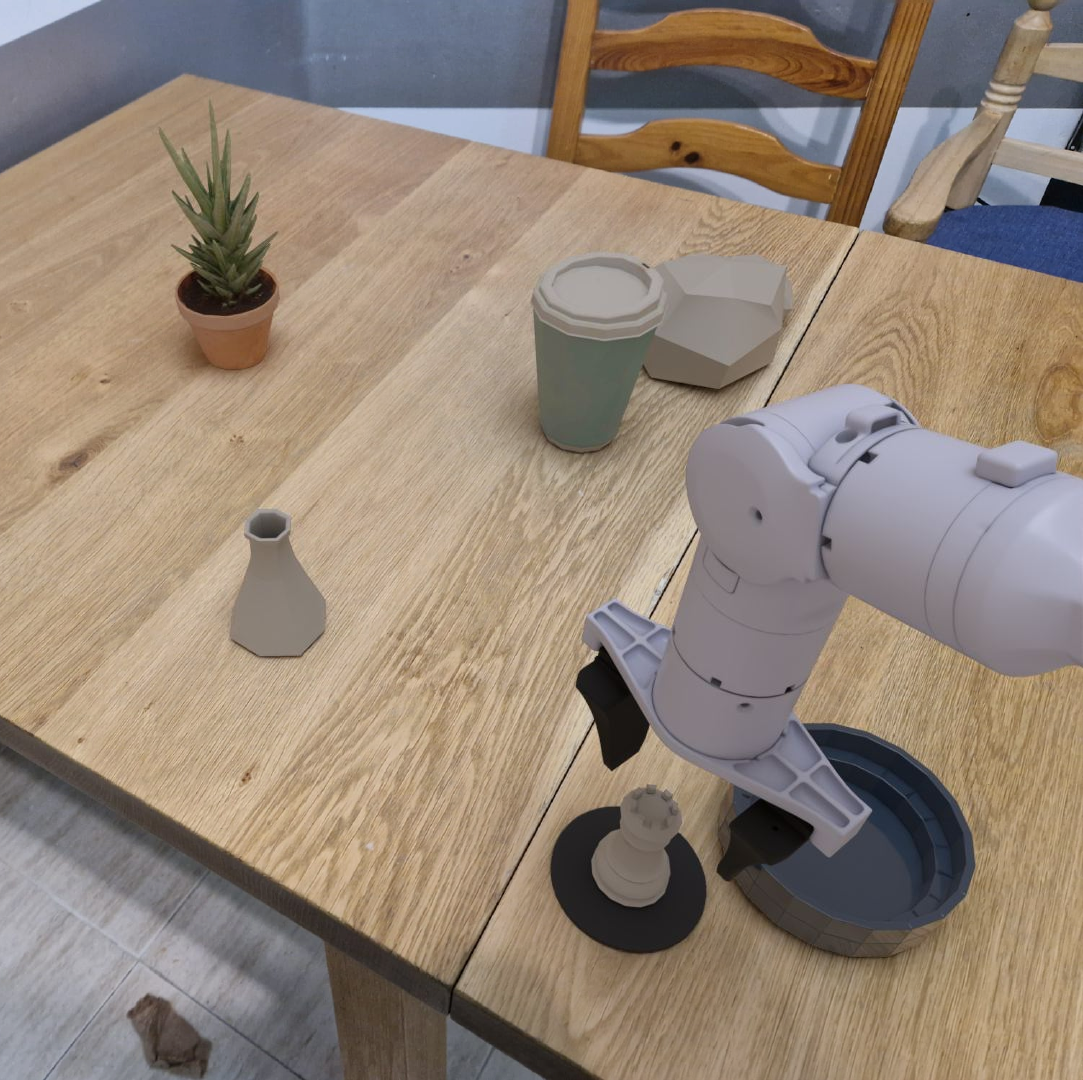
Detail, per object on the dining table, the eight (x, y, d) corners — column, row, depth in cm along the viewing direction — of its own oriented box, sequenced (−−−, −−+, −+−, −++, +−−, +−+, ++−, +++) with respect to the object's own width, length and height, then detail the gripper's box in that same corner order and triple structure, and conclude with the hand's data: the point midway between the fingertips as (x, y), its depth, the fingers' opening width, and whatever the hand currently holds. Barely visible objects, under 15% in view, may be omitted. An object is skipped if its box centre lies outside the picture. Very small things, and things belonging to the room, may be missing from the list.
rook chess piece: (584, 898, 58) (606, 831, 52) (595, 831, 61) (617, 759, 55) (663, 920, 57) (694, 853, 51) (670, 850, 60) (700, 780, 54)
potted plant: (180, 383, 94) (133, 121, 76) (191, 326, 101) (150, 72, 83) (287, 381, 94) (264, 118, 76) (290, 323, 101) (270, 70, 83)
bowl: (991, 873, 59) (1021, 840, 56) (856, 1008, 54) (882, 979, 51) (806, 724, 67) (825, 688, 64) (672, 830, 61) (686, 796, 59)
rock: (575, 307, 102) (589, 219, 95) (750, 276, 106) (776, 189, 99) (661, 414, 90) (684, 322, 83) (855, 375, 93) (893, 283, 87)
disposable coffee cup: (558, 483, 84) (584, 330, 73) (492, 411, 90) (507, 262, 80) (662, 446, 87) (701, 294, 76) (590, 379, 94) (617, 232, 83)
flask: (252, 575, 77) (238, 478, 70) (341, 596, 75) (336, 499, 68) (213, 646, 72) (194, 550, 65) (307, 670, 70) (299, 574, 63)
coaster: (737, 893, 59) (739, 890, 58) (629, 986, 55) (630, 983, 55) (624, 783, 64) (625, 780, 63) (518, 862, 60) (519, 859, 60)
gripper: (959, 710, 39) (845, 873, 49) (674, 506, 47) (626, 679, 57) (847, 807, 36) (750, 959, 46) (566, 572, 45) (534, 742, 54)
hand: (675, 809), depth 51 cm, fingers open, 7 cm apart
